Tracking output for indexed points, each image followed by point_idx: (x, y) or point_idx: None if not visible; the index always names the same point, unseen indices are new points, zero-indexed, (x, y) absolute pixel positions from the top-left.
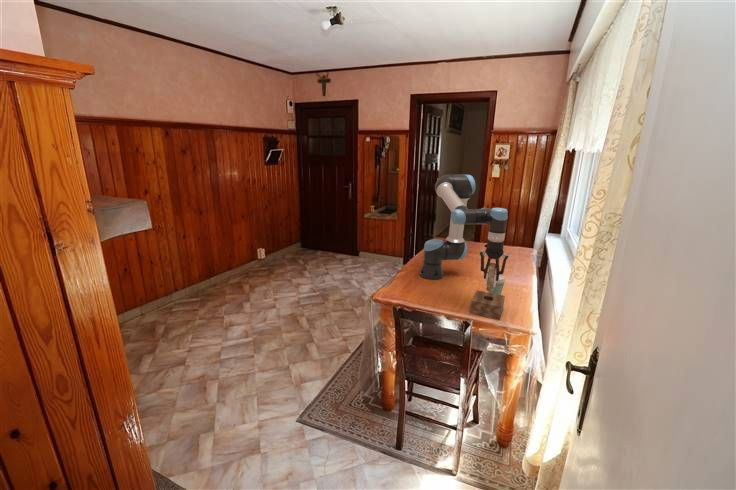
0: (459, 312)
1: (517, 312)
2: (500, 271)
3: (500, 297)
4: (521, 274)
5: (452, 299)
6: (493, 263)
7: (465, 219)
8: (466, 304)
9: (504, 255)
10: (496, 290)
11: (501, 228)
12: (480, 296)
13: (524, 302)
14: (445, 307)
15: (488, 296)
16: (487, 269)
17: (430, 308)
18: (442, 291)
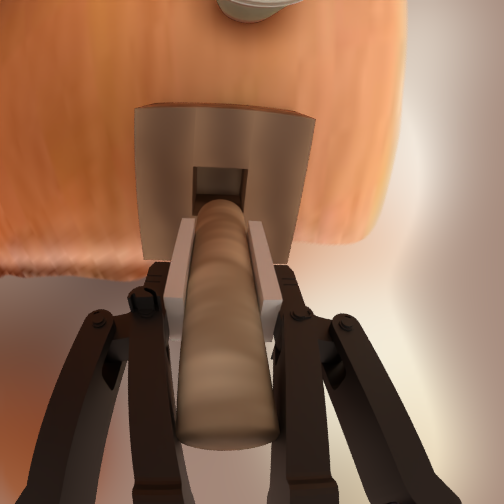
0: (121, 237)
1: (351, 134)
2: (323, 349)
3: (288, 153)
4: None
5: (60, 138)
6: (234, 431)
7: None
8: (122, 151)
9: None
10: (261, 13)
11: None
12: (171, 191)
13: (385, 29)
14: (68, 224)
15: (216, 166)
16: (171, 378)
17: (42, 254)
18: (14, 90)
